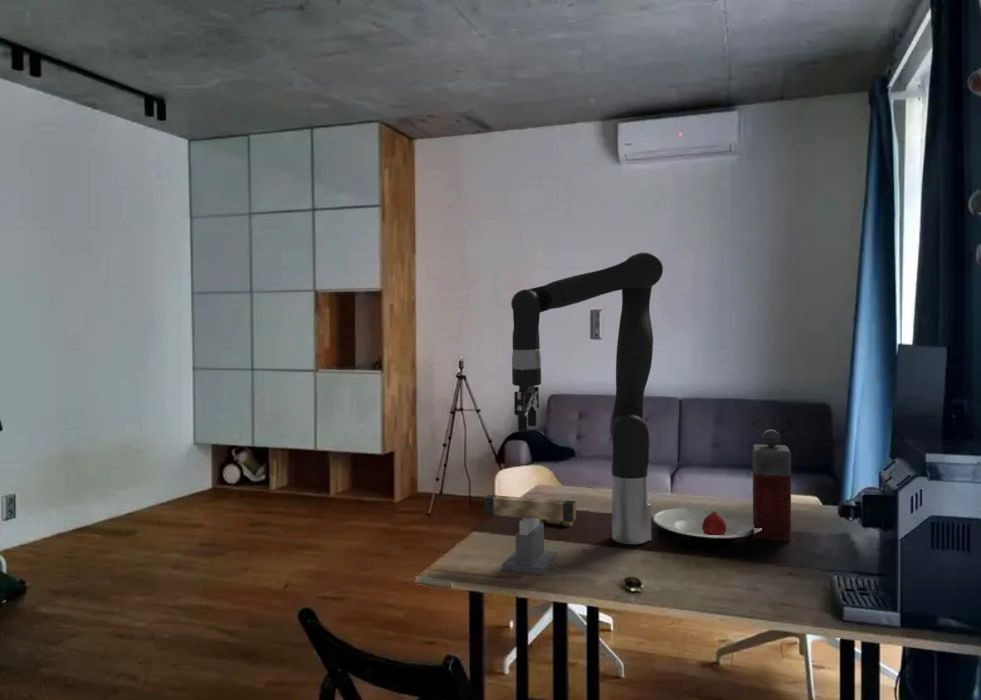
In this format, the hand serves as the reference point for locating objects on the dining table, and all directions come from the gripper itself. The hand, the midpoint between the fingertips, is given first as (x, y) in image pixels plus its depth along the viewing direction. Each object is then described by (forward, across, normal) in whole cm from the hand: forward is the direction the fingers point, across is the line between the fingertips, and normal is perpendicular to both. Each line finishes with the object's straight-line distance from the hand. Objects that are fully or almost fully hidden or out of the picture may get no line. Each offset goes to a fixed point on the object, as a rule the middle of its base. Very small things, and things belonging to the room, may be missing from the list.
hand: (527, 428), depth 179 cm
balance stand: (+30, +15, +5) cm, 34 cm away
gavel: (+31, -26, +3) cm, 41 cm away
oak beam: (+19, +15, +5) cm, 24 cm away
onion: (+30, -15, +46) cm, 57 cm away
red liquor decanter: (+30, -26, +60) cm, 72 cm away
